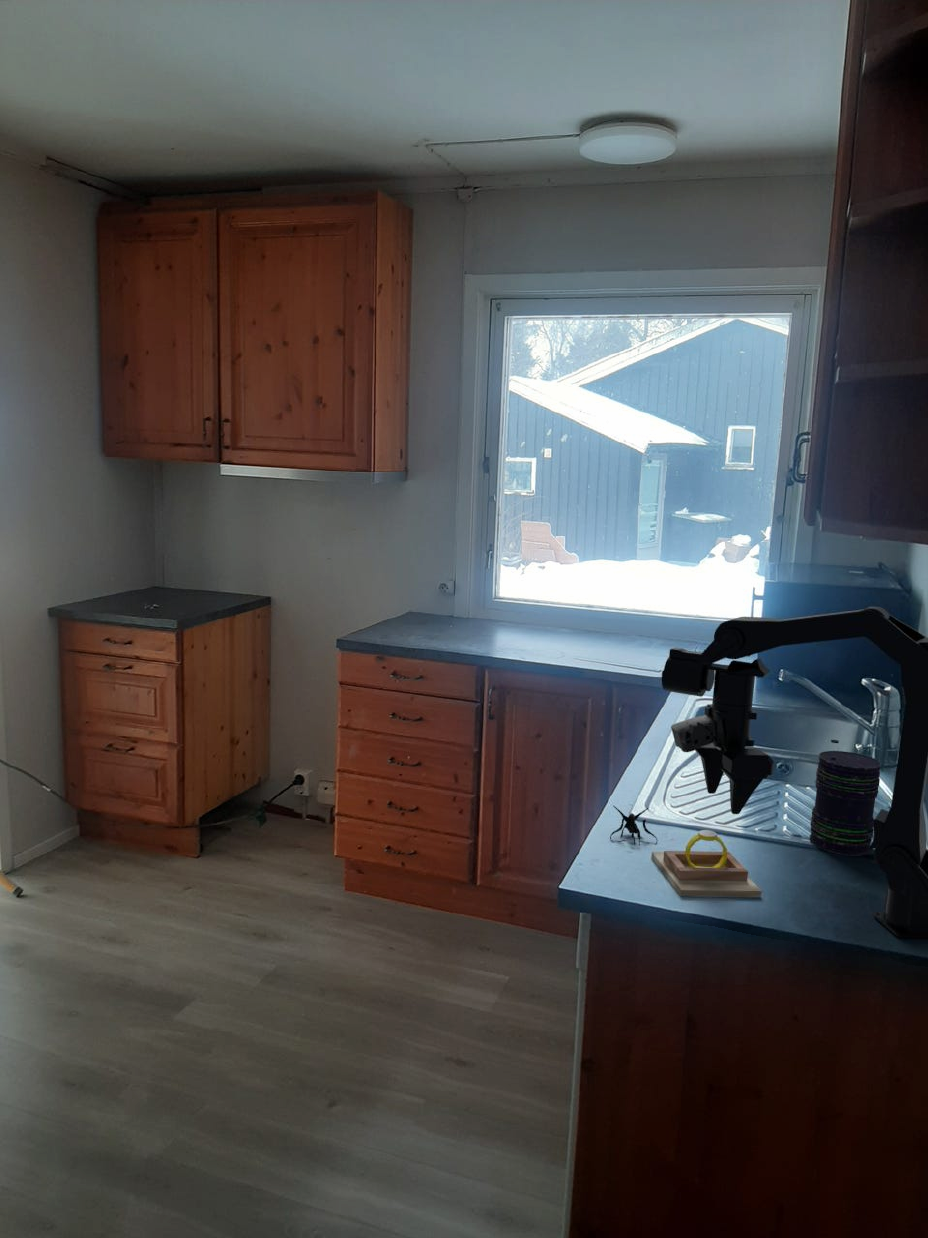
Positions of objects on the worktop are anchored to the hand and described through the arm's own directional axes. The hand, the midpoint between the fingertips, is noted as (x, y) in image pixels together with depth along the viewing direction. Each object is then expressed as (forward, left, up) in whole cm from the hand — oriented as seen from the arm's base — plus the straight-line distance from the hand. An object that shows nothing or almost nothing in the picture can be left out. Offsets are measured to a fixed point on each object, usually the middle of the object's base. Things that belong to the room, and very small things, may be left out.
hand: (722, 803), depth 141 cm
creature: (+14, +9, -12) cm, 20 cm away
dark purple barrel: (+13, -27, -12) cm, 32 cm away
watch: (-1, +2, -11) cm, 11 cm away
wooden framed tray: (-1, +2, -11) cm, 12 cm away
